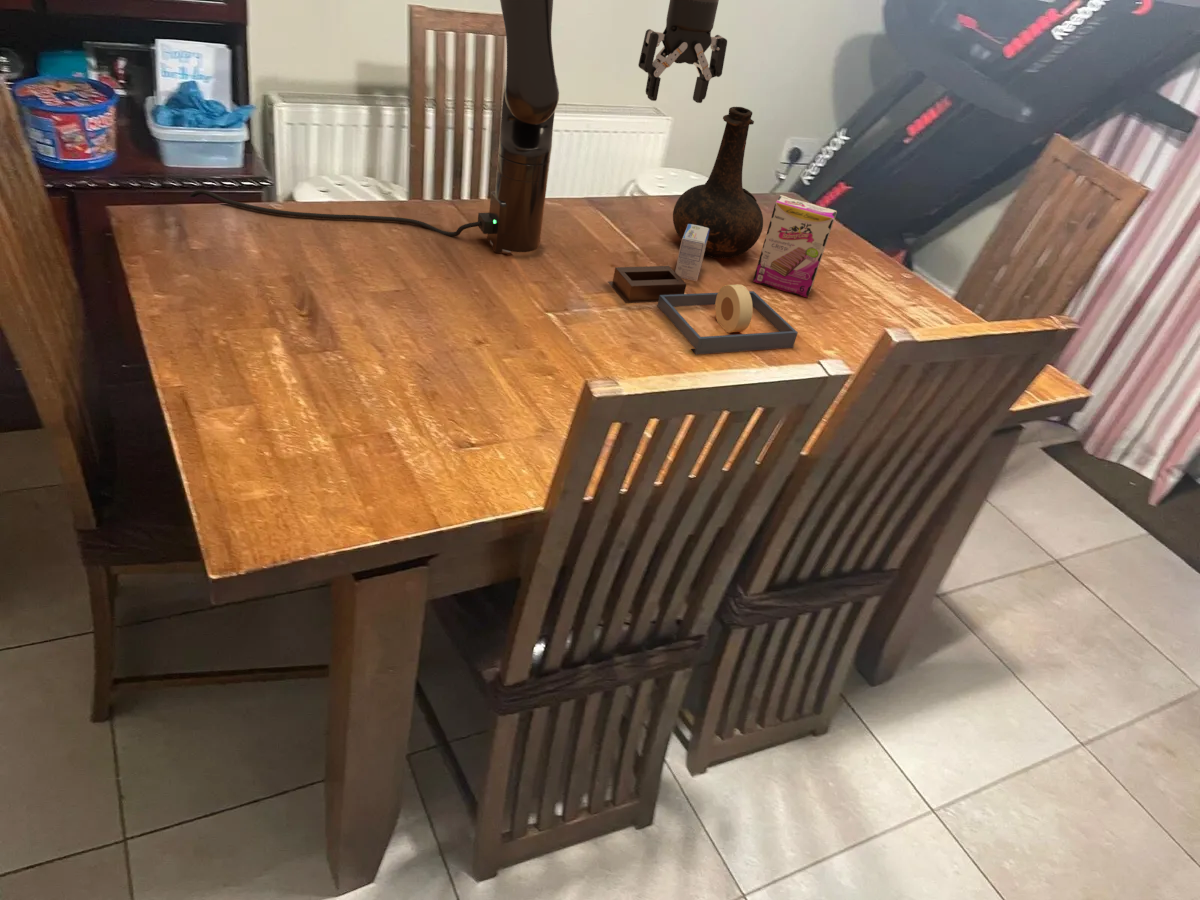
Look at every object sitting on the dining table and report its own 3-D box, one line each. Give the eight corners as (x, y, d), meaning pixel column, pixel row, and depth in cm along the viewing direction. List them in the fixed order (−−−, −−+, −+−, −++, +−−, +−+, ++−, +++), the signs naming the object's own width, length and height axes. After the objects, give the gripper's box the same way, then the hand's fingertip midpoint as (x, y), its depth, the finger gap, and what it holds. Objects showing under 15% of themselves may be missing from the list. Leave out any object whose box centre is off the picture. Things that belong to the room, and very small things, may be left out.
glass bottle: (771, 262, 186) (810, 123, 170) (704, 273, 177) (740, 127, 161) (715, 227, 198) (747, 93, 181) (650, 236, 188) (677, 95, 172)
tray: (695, 354, 150) (699, 338, 148) (656, 310, 161) (659, 294, 159) (793, 347, 157) (797, 332, 156) (749, 305, 168) (753, 291, 167)
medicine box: (695, 286, 172) (706, 242, 167) (672, 280, 172) (682, 237, 167) (700, 269, 178) (710, 227, 173) (678, 264, 178) (687, 222, 173)
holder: (687, 305, 164) (691, 285, 162) (624, 308, 159) (628, 287, 157) (667, 284, 170) (671, 264, 168) (606, 286, 166) (609, 265, 163)
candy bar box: (751, 283, 177) (774, 201, 167) (756, 273, 181) (779, 193, 171) (808, 299, 175) (834, 217, 165) (812, 289, 179) (837, 209, 169)
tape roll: (728, 342, 156) (745, 307, 150) (710, 309, 160) (726, 274, 155) (740, 341, 157) (758, 307, 151) (722, 309, 161) (738, 274, 156)
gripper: (723, -7, 149) (701, 95, 158) (644, -16, 143) (626, 91, 153) (746, 4, 143) (722, 109, 153) (665, -5, 138) (645, 105, 147)
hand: (674, 100), depth 153 cm, fingers open, 8 cm apart
